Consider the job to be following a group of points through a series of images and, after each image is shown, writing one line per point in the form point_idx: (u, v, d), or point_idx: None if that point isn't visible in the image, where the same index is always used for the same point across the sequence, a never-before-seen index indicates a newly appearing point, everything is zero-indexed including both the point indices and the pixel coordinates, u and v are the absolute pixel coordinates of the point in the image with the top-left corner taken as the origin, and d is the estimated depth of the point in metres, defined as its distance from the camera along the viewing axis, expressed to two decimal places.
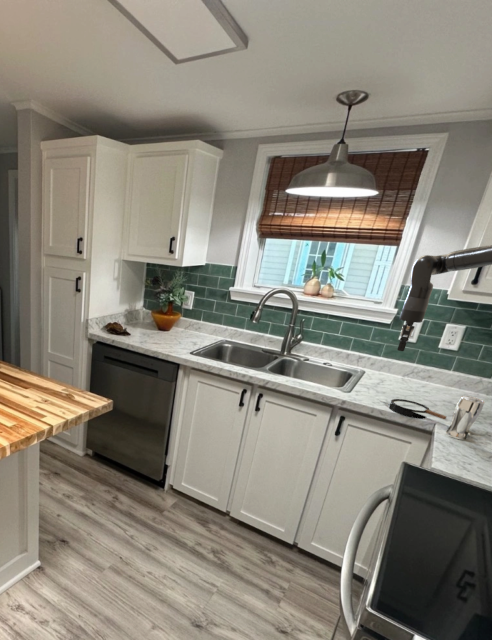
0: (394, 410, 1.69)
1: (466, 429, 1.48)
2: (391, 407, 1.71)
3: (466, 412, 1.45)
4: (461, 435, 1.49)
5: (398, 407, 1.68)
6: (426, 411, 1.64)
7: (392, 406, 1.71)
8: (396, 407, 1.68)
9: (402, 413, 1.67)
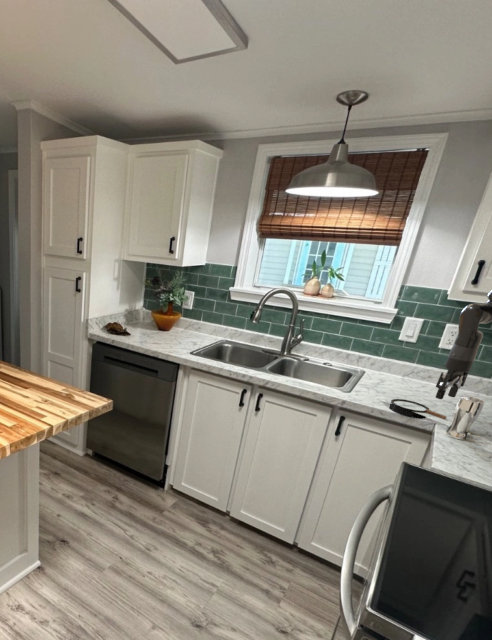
0: (394, 410, 1.69)
1: (466, 429, 1.48)
2: (391, 407, 1.71)
3: (466, 412, 1.45)
4: (461, 435, 1.49)
5: (398, 407, 1.68)
6: (426, 411, 1.64)
7: (392, 406, 1.71)
8: (396, 407, 1.68)
9: (402, 413, 1.67)
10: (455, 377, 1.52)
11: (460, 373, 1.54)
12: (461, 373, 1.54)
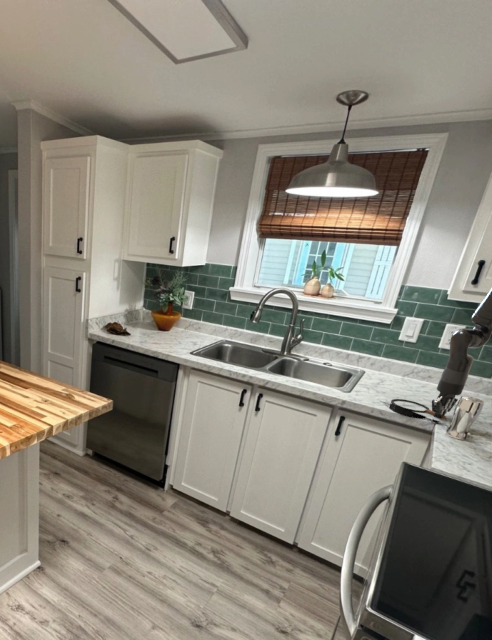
0: (394, 410, 1.69)
1: (466, 429, 1.48)
2: (391, 407, 1.71)
3: (466, 412, 1.45)
4: (461, 435, 1.49)
5: (398, 407, 1.68)
6: (426, 411, 1.64)
7: (392, 406, 1.71)
8: (396, 407, 1.68)
9: (402, 413, 1.67)
10: (447, 400, 1.56)
11: (452, 396, 1.57)
12: (453, 396, 1.57)
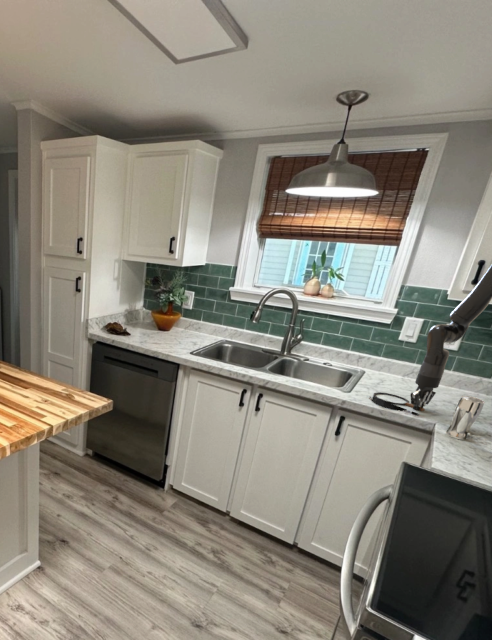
0: (376, 403, 1.76)
1: (466, 429, 1.48)
2: (373, 400, 1.78)
3: (466, 412, 1.45)
4: (461, 435, 1.49)
5: (379, 400, 1.74)
6: (406, 404, 1.70)
7: (374, 399, 1.77)
8: (378, 400, 1.75)
9: (383, 406, 1.73)
10: (425, 392, 1.62)
11: (430, 389, 1.64)
12: (431, 389, 1.64)
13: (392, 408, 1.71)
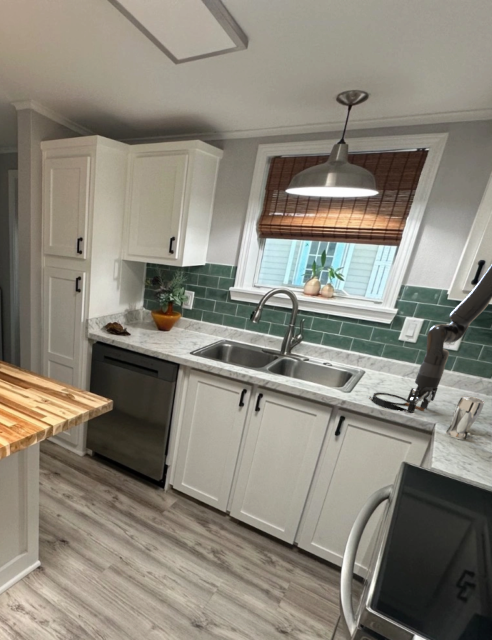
0: (376, 403, 1.76)
1: (466, 429, 1.48)
2: (373, 400, 1.78)
3: (466, 412, 1.45)
4: (461, 435, 1.49)
5: (379, 400, 1.74)
6: (406, 404, 1.70)
7: (374, 399, 1.77)
8: (377, 400, 1.75)
9: (383, 406, 1.73)
10: (424, 392, 1.62)
11: (429, 388, 1.64)
12: (430, 388, 1.64)
13: (392, 408, 1.71)
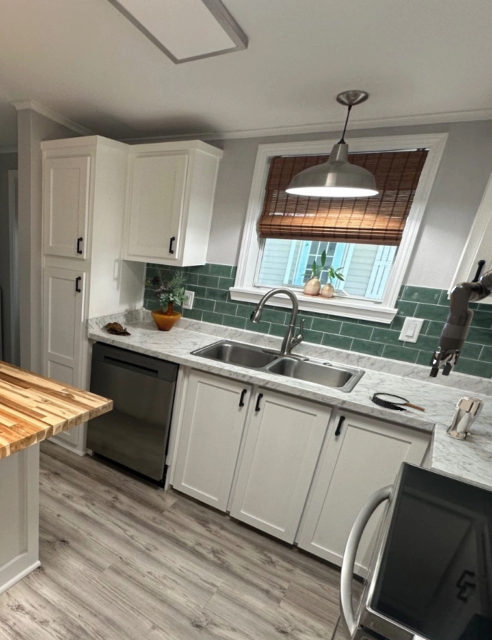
0: (376, 403, 1.76)
1: (466, 429, 1.48)
2: (373, 400, 1.78)
3: (466, 412, 1.45)
4: (461, 435, 1.49)
5: (379, 400, 1.74)
6: (406, 404, 1.70)
7: (374, 399, 1.77)
8: (377, 400, 1.75)
9: (383, 406, 1.73)
10: (448, 355, 1.56)
11: (453, 351, 1.58)
12: (454, 351, 1.58)
13: (392, 408, 1.71)
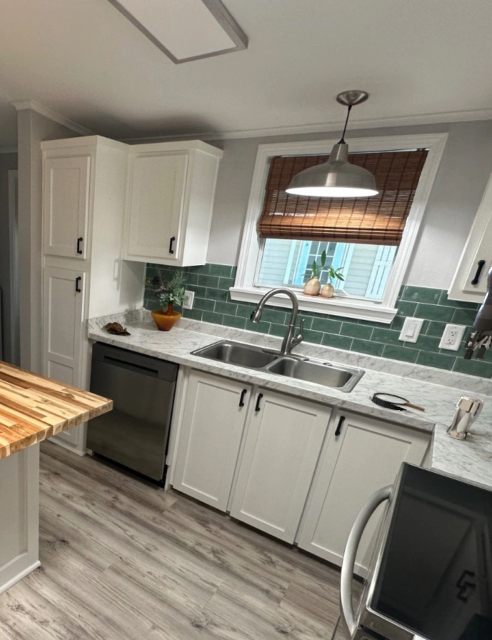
0: (376, 403, 1.76)
1: (466, 429, 1.48)
2: (373, 400, 1.78)
3: (466, 412, 1.45)
4: (461, 435, 1.48)
5: (379, 400, 1.74)
6: (406, 404, 1.70)
7: (374, 399, 1.77)
8: (377, 400, 1.75)
9: (383, 406, 1.73)
10: (484, 337, 1.52)
11: (488, 333, 1.54)
12: (489, 333, 1.54)
13: (392, 408, 1.71)
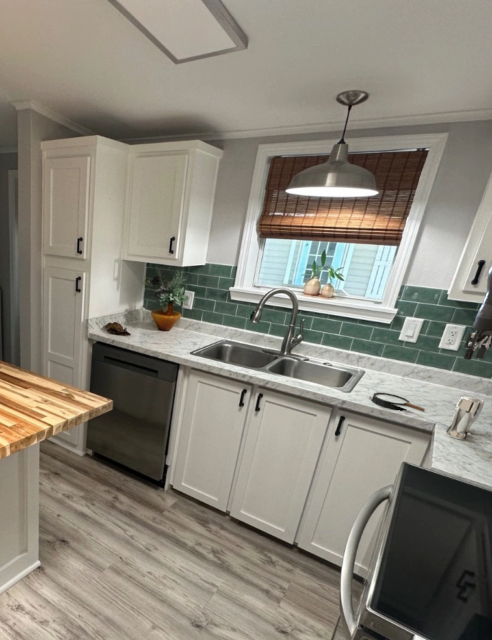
0: (376, 403, 1.76)
1: (466, 429, 1.48)
2: (373, 400, 1.78)
3: (466, 412, 1.45)
4: (461, 435, 1.49)
5: (379, 400, 1.74)
6: (406, 404, 1.70)
7: (374, 399, 1.77)
8: (377, 400, 1.75)
9: (383, 406, 1.73)
10: (484, 337, 1.52)
11: (489, 333, 1.54)
12: (490, 333, 1.54)
13: (392, 408, 1.71)
